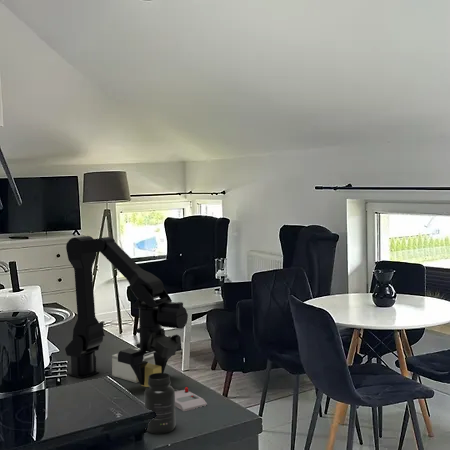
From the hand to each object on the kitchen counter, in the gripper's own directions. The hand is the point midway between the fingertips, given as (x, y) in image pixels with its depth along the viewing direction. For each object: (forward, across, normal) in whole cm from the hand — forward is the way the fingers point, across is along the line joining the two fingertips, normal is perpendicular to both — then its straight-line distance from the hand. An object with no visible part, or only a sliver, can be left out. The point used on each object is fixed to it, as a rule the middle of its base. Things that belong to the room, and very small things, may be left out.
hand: (151, 381), depth 168 cm
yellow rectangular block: (+1, 0, 0) cm, 1 cm away
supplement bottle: (+1, -19, -23) cm, 30 cm away
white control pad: (+2, -3, -15) cm, 16 cm away
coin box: (+1, +4, +10) cm, 11 cm away
